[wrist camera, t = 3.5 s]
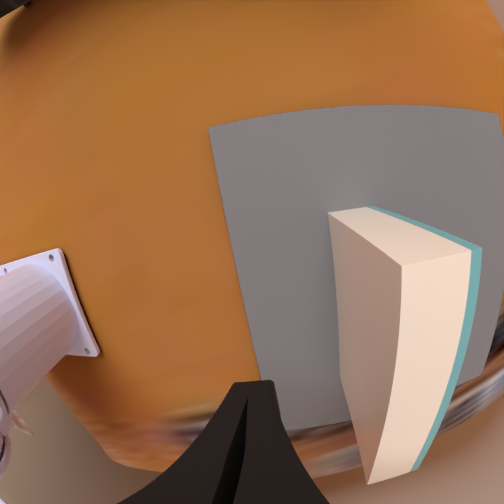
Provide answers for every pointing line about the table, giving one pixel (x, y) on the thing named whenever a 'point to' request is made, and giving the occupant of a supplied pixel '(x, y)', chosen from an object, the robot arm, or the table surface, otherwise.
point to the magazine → (11, 5)
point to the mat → (344, 198)
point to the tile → (400, 330)
